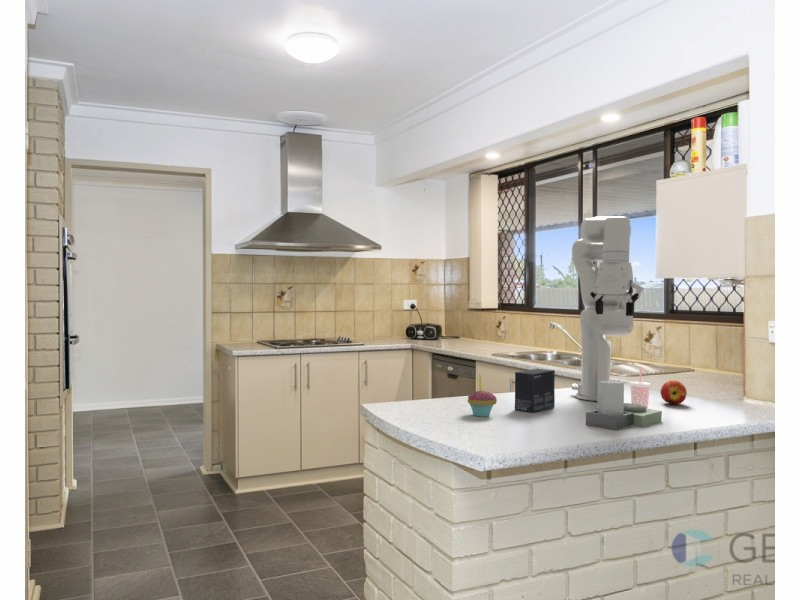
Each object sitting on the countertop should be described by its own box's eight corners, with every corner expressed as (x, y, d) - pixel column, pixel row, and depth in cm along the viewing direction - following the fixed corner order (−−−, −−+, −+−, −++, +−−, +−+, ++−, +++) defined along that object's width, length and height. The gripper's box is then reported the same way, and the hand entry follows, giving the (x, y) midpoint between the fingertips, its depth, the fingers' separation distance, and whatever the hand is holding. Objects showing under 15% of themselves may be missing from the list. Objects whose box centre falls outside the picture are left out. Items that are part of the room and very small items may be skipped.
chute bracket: (585, 424, 178) (586, 412, 177) (603, 419, 184) (604, 407, 184) (615, 430, 171) (616, 417, 171) (633, 425, 178) (633, 412, 178)
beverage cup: (646, 414, 194) (648, 368, 194) (626, 411, 198) (627, 366, 198) (652, 411, 199) (653, 366, 199) (632, 408, 203) (633, 365, 202)
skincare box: (616, 423, 180) (618, 380, 180) (624, 426, 176) (625, 383, 176) (595, 423, 180) (597, 380, 179) (602, 426, 175) (603, 382, 175)
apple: (661, 405, 210) (662, 381, 210) (659, 401, 218) (659, 378, 218) (687, 407, 208) (688, 382, 208) (684, 403, 216) (685, 379, 216)
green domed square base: (596, 418, 186) (596, 404, 186) (616, 413, 194) (616, 400, 194) (642, 426, 176) (642, 412, 176) (661, 421, 184) (661, 407, 184)
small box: (536, 404, 207) (537, 368, 206) (555, 408, 202) (556, 370, 202) (513, 410, 197) (514, 371, 197) (532, 413, 192) (533, 373, 192)
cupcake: (462, 413, 190) (463, 373, 190) (487, 411, 193) (488, 372, 193) (475, 418, 182) (476, 377, 182) (501, 417, 185) (502, 376, 185)
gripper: (583, 257, 195) (581, 313, 195) (637, 257, 182) (635, 316, 183) (596, 258, 200) (594, 313, 201) (649, 258, 188) (647, 316, 188)
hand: (614, 314), depth 192 cm, fingers open, 9 cm apart
